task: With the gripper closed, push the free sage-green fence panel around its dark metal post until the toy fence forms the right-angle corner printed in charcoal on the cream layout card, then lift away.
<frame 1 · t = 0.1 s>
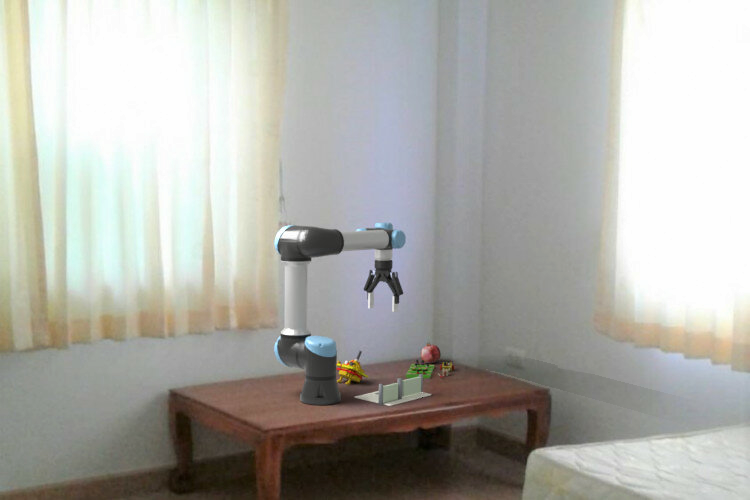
hand: (382, 309, 382), 28 cm above the table, fingers open, 13 cm apart
fruit: (430, 363, 413), on the table
toy: (351, 383, 370), on the table
toy garden set: (430, 374, 391), on the table
layout card: (393, 396, 347), on the table
fence fixed: (399, 399, 342), resting on layout card
fence panel: (412, 385, 347), point 4 cm above the table, hinge at 0.0°
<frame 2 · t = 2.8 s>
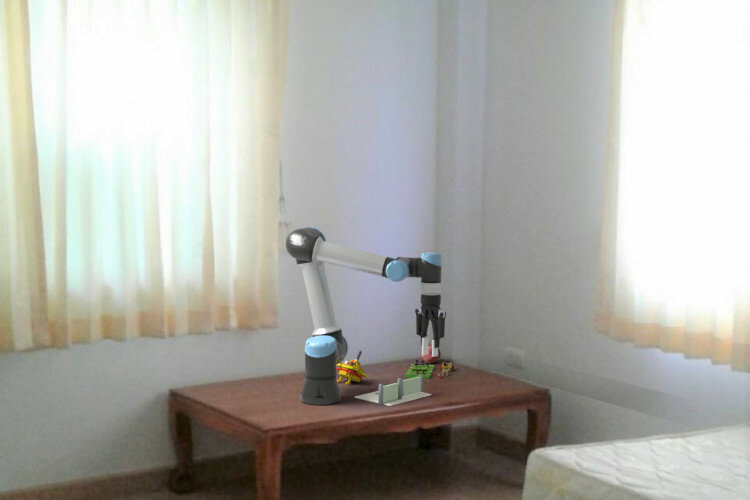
hand: (429, 355, 343), 17 cm above the table, fingers open, 4 cm apart
nothing on the table moved.
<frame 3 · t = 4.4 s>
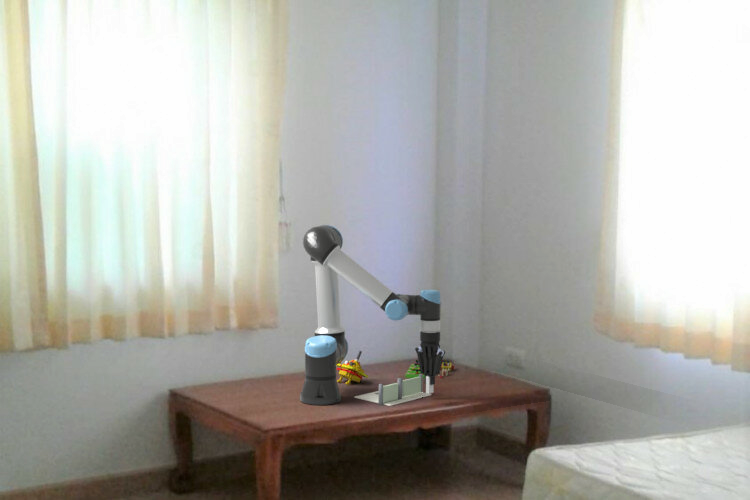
hand: (429, 392, 344), 2 cm above the table, fingers closed
nothing on the table moved.
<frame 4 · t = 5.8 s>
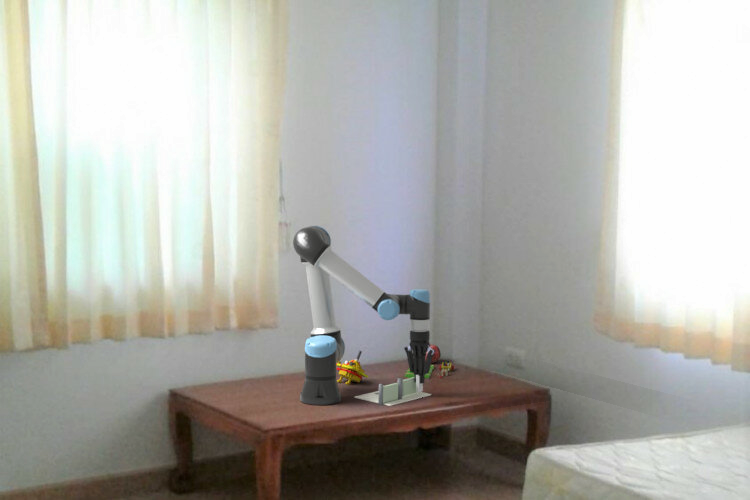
hand: (419, 391, 347), 2 cm above the table, fingers closed
fence panel: (411, 384, 348), point 4 cm above the table, hinge at 5.1°, touching gripper
everything else where it was.
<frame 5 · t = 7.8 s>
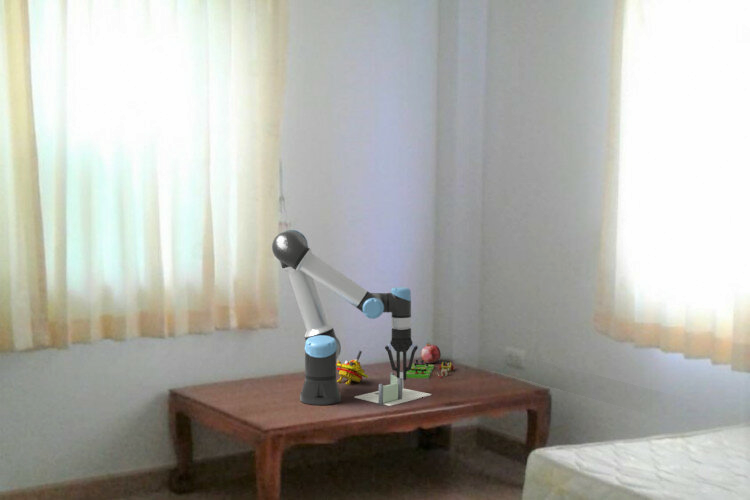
hand: (401, 388, 351), 2 cm above the table, fingers closed
fence panel: (395, 384, 349), point 4 cm above the table, hinge at 55.1°, touching gripper
everything else where it was.
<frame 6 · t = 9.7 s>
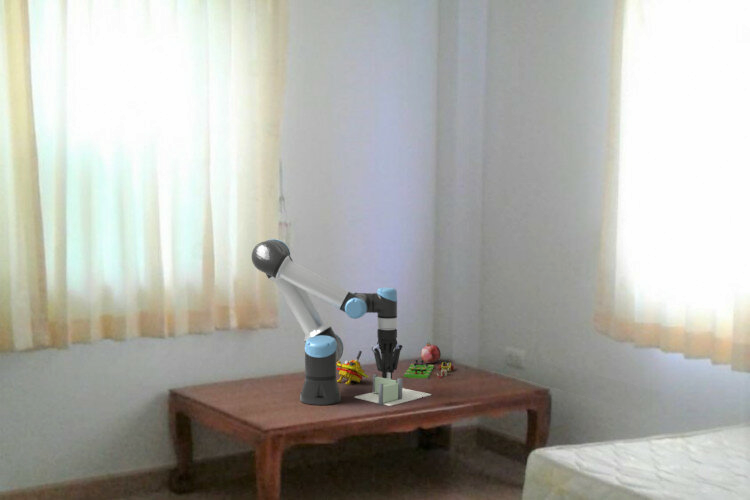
hand: (387, 388, 350), 2 cm above the table, fingers closed
fence panel: (384, 385, 347), point 4 cm above the table, hinge at 91.2°, touching gripper
everything else where it was.
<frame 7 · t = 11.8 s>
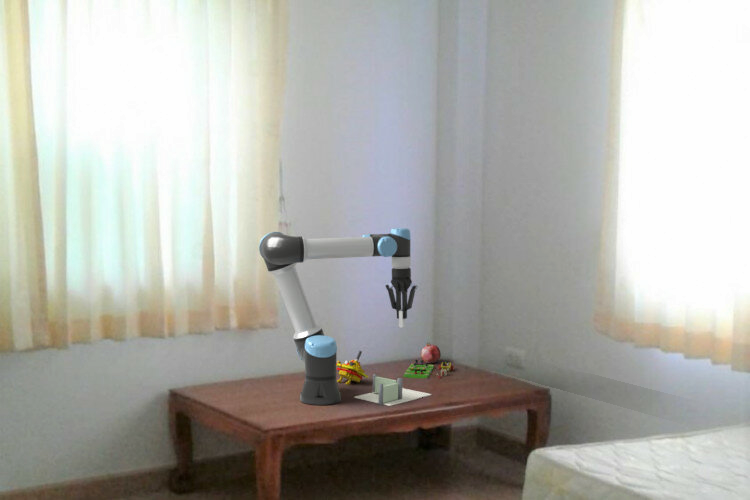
hand: (402, 326, 359), 25 cm above the table, fingers closed
fence panel: (384, 385, 347), point 4 cm above the table, hinge at 91.4°
everything else where it was.
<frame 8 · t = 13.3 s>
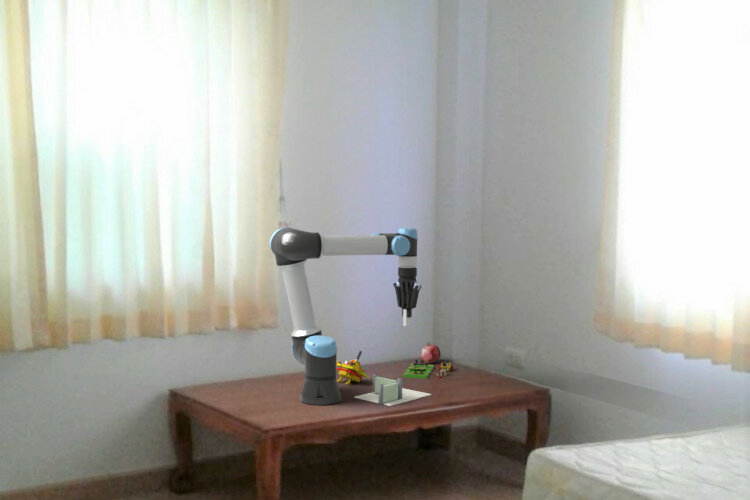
hand: (406, 325, 364), 24 cm above the table, fingers closed
nothing on the table moved.
at the end: fence panel at +91° (first picture: +0°) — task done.
